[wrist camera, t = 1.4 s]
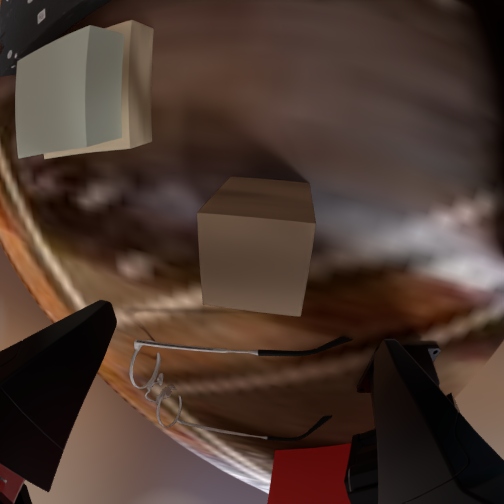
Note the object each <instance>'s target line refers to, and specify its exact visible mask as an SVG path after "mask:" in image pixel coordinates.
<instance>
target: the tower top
mask: <svg viewBox="0 0 504 504" xmlns="http://www.w3.org/2000/svg"><path fill="white" fill-rule="evenodd" d="M124 36H125V35H124V34H121V33H118V32H114V31H111V30H107V29H103V28H100V27H96V26H92V25H89V26H87V27H84V28H82V29H79V30H77V31H75V32H72V33H70V34H68V35H66V36H64V37H61V38H59V39H57V40H55V41H53V42H51V43H49V44H47V45H45V46H43V47H42V48H40V49H38V50H36V51H34V52H32V53H31V54H29V55H27V56H25V57H24V58H22V59H20V60H19V61H17V73H16V93H15V117H16V138H17V150H18V159H19V158H23V157H28V156H34V155H39V154H45V153H50V152H57V151H63V150H70V149H77V148H85V147H90V146H93V145H97V144H100V143H104V142H107V141H111V140H115V139H119V138H122V123H121V88H122V63H123V48H124Z"/></svg>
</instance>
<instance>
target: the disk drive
mask: <svg viewBox="0 0 504 504" xmlns="http://www.w3.org/2000/svg"><path fill="white" fill-rule="evenodd" d="M109 1H111V0H1V7H0V42H1V45H2V47H3V48H4V49H3V51H2V52H1V54H0V76H8V75H15V74H16V73H17V61H19V60H20V59H22V58H24V57H25V56H27V55H29V54H31V53H32V52H34V51H36V50H38V49H40V48H42V47H43V46H45V45H47V44H49V43H51V42H53V41H54V40H55V39H56V38H58V37H59V36H60V35H61V34H62V33H64V32H65V31H67V30H68V29H69V28H70V27H71V26H73V25H74V24H76V23H77V22H79V21H80V20H81V19H83V18H84V17H86V16H87V15H88V14H90V13H91V12H93V11H94V10H96V9H98V8H99V7H101V6H102V5H104V4H106V3H107V2H109Z"/></svg>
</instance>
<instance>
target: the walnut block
mask: <svg viewBox="0 0 504 504" xmlns="http://www.w3.org/2000/svg"><path fill="white" fill-rule="evenodd" d="M197 223H198V243H199V259H200V274H201V287H202V299H203V304H204V305H210V306H217V307H224V308H231V309H239V310H246V311H254V312H263V313H271V314H280V315H289V316H299V317H300V316H301V311H302V306H303V300H304V295H305V289H306V284H307V278H308V272H309V266H310V260H311V254H312V247H313V240H314V234H315V227H316V221H315V214H314V208H313V202H312V195H311V190H310V184H309V183H304V182H294V181H284V180H272V179H260V178H246V177H230V178H229V179H228V180H227V181H226V182H225V183H224V184H223V185H222V186H221V187H220V188H219V189H218V190H217V192H216V193H215V194H214V195H213V196H212V197H211V198H210V199H209V200H208V201H207V202H206V203H205V205H204V206H203V207H202V208H201V209H200V210H199V211H198V212H197Z"/></svg>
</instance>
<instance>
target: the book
mask: <svg viewBox="0 0 504 504" xmlns="http://www.w3.org/2000/svg"><path fill="white" fill-rule="evenodd" d="M350 448H351V443H349V444H342V445H335V446H327V447H317V448H306V449H291V450H275V455H274V463H273V470H272V477H271V484H270V490H269V497H268V503H267V504H351V503H350V500H349V498H348V496H347V492H346V488H345V484H344V478H345V473H346V469H347V464H348V459H349V453H350Z"/></svg>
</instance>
